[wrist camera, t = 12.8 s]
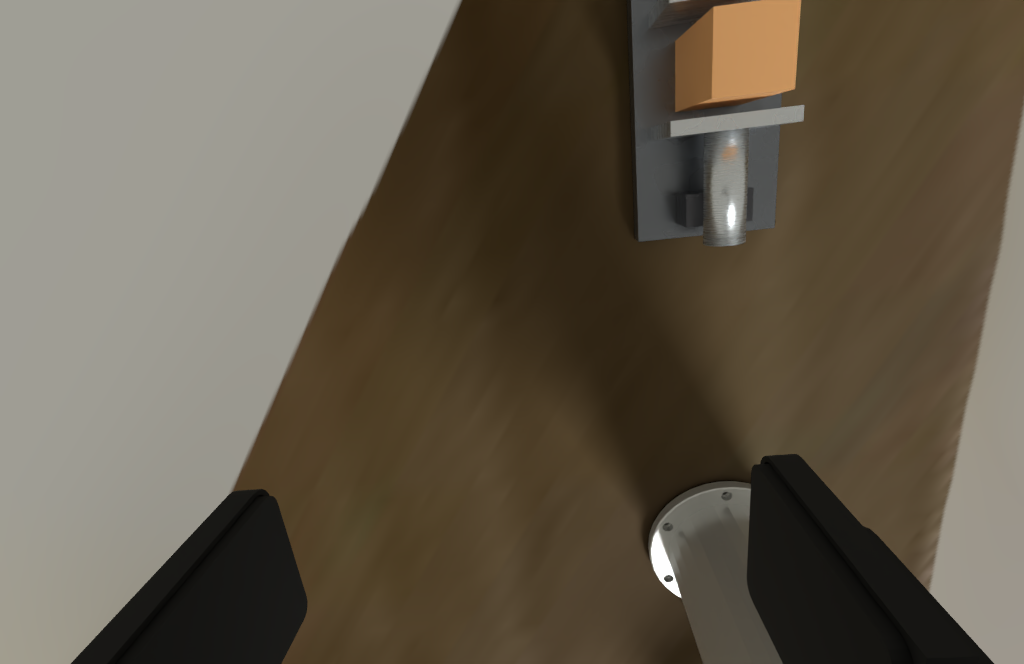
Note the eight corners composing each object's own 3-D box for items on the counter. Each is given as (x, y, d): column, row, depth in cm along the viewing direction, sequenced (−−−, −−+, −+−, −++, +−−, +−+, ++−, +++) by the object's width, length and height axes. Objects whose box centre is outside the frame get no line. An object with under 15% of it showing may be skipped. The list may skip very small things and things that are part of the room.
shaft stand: (764, 225, 35) (813, 238, 29) (634, 238, 36) (654, 254, 29) (781, -127, 29) (848, -207, 22) (623, -102, 29) (645, -172, 23)
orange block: (743, 32, 30) (801, -6, 23) (740, 104, 31) (794, 88, 25) (675, 40, 30) (713, 6, 24) (675, 112, 31) (711, 98, 25)
